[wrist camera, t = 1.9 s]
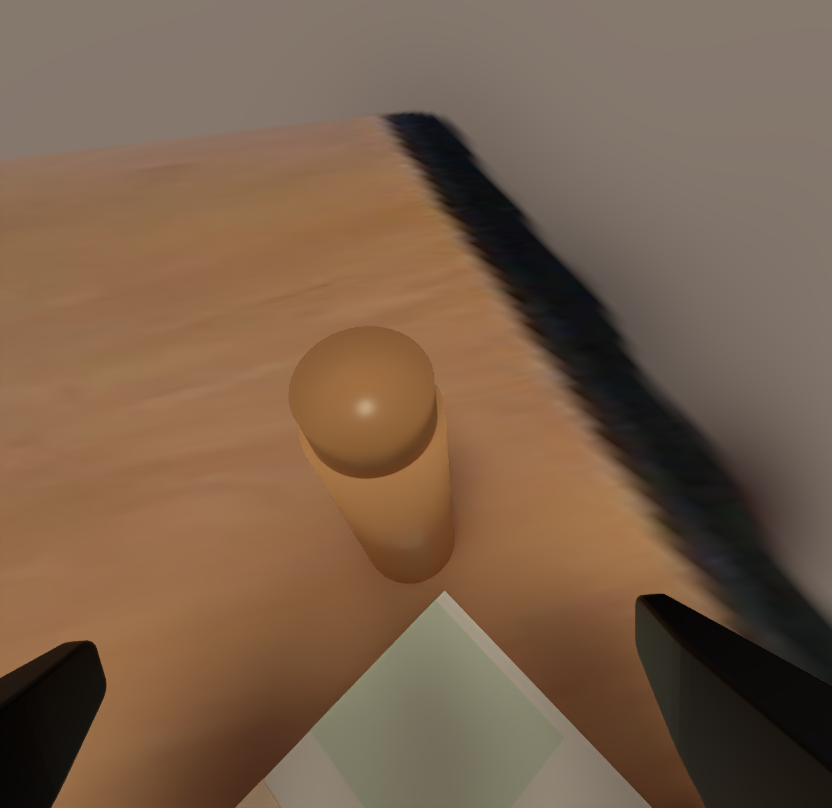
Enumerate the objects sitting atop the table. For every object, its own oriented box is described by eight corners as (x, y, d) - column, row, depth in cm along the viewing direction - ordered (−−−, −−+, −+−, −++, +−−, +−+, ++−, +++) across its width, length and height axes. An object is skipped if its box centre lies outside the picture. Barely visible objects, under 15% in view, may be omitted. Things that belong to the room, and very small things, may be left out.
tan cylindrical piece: (472, 537, 21) (478, 380, 11) (408, 603, 20) (350, 494, 10) (411, 479, 22) (369, 296, 12) (348, 537, 21) (247, 386, 11)
